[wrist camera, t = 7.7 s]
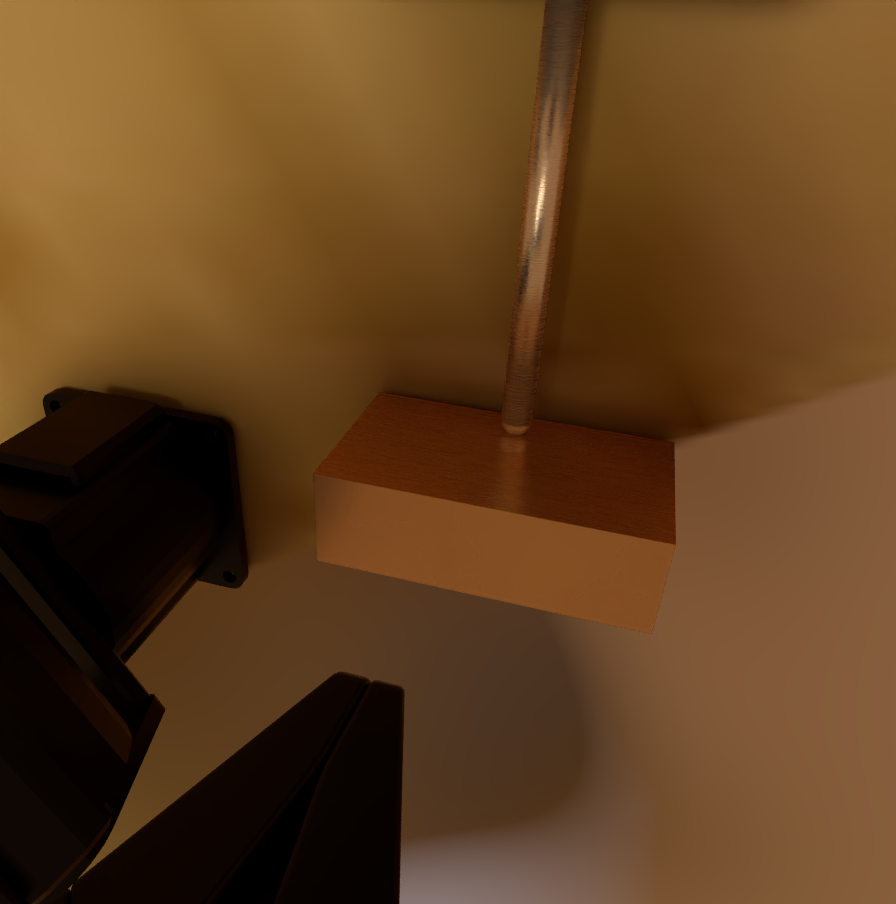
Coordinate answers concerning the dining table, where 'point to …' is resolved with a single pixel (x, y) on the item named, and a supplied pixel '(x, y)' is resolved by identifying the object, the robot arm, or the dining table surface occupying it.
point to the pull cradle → (510, 448)
